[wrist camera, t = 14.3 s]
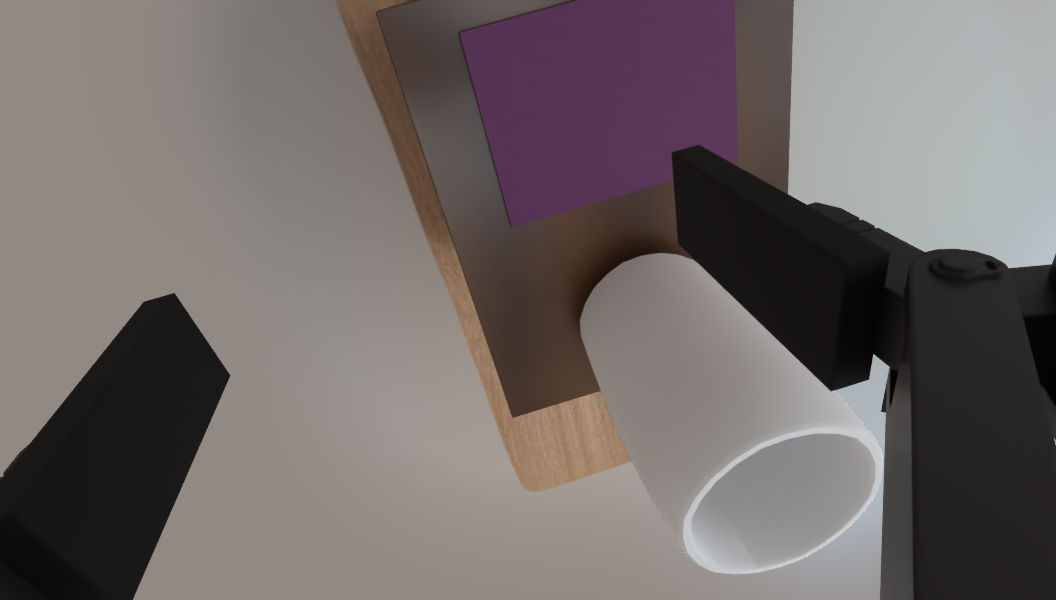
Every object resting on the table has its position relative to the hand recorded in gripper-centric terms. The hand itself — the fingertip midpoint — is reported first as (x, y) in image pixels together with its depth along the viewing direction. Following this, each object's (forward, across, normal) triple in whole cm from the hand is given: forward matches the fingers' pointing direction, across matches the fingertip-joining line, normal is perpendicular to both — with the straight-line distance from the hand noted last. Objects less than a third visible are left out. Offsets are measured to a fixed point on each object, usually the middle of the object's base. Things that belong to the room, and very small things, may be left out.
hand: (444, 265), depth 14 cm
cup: (+12, +9, -12) cm, 19 cm away
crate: (+38, +9, -6) cm, 40 cm away
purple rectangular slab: (+12, +9, 0) cm, 15 cm away
